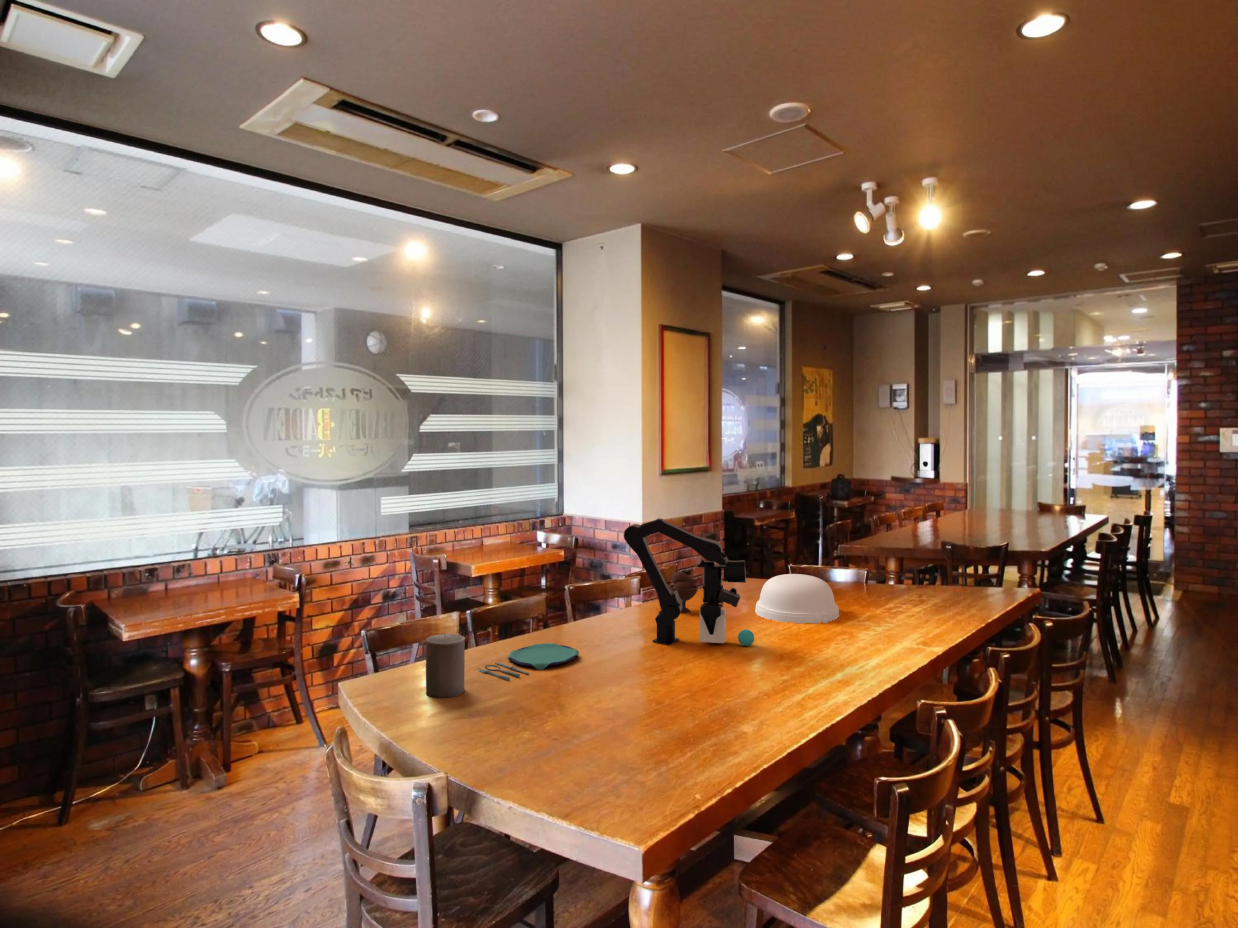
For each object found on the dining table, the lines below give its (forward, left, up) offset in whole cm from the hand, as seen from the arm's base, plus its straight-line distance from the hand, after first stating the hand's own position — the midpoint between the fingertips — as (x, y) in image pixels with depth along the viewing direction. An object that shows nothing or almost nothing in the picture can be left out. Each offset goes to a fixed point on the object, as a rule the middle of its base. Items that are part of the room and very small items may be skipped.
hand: (712, 631), depth 229 cm
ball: (+4, -10, -2) cm, 11 cm away
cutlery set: (-45, +36, -5) cm, 58 cm away
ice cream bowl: (+33, +27, -4) cm, 43 cm away
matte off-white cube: (0, 0, -2) cm, 3 cm away
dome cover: (+53, -9, -5) cm, 54 cm away
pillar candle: (-75, +38, -4) cm, 85 cm away
